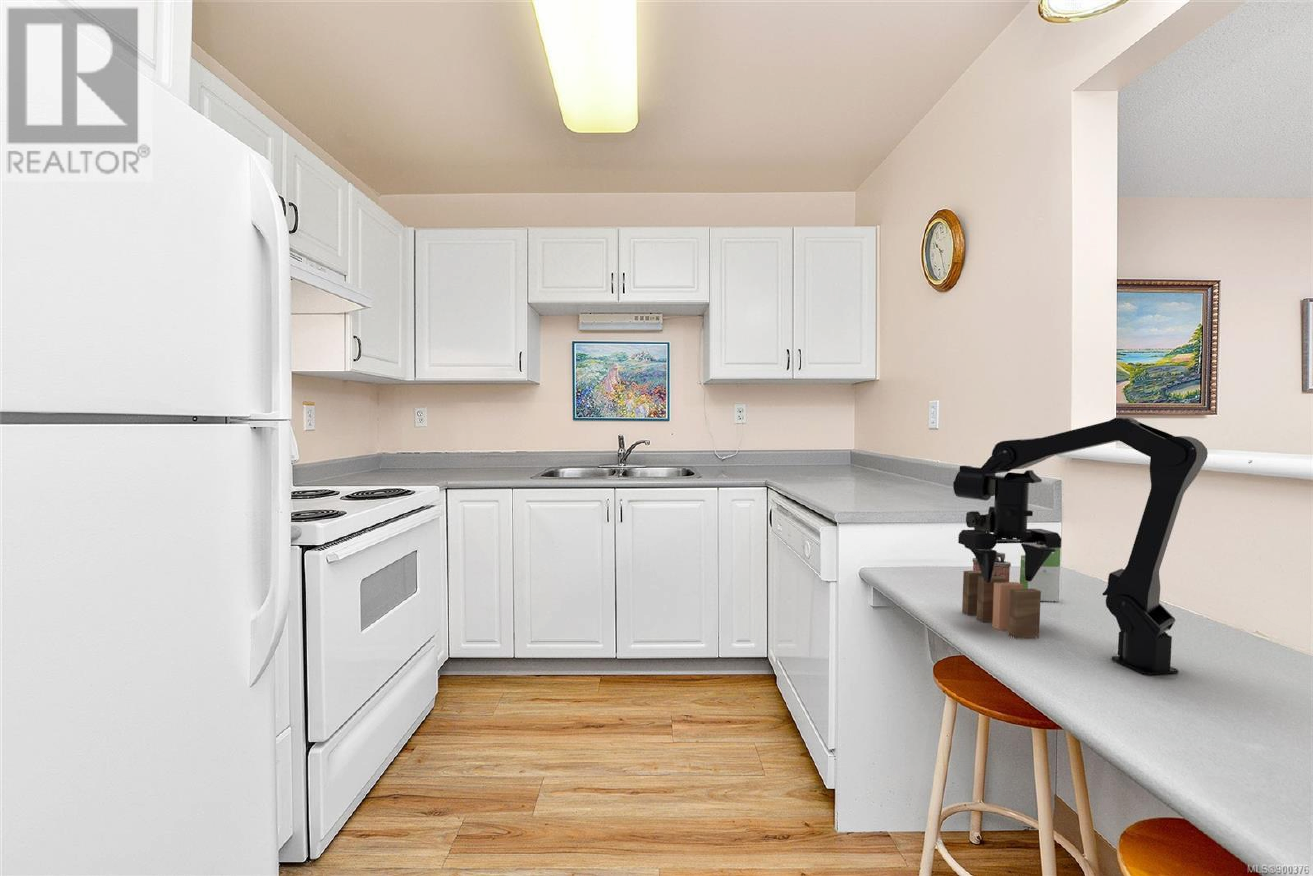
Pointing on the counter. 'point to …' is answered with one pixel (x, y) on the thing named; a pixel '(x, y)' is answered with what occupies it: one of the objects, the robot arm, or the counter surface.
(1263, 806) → the counter surface
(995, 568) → the lighter
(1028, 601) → the domino
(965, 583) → the domino
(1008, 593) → the domino
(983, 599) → the domino
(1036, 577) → the ink box
